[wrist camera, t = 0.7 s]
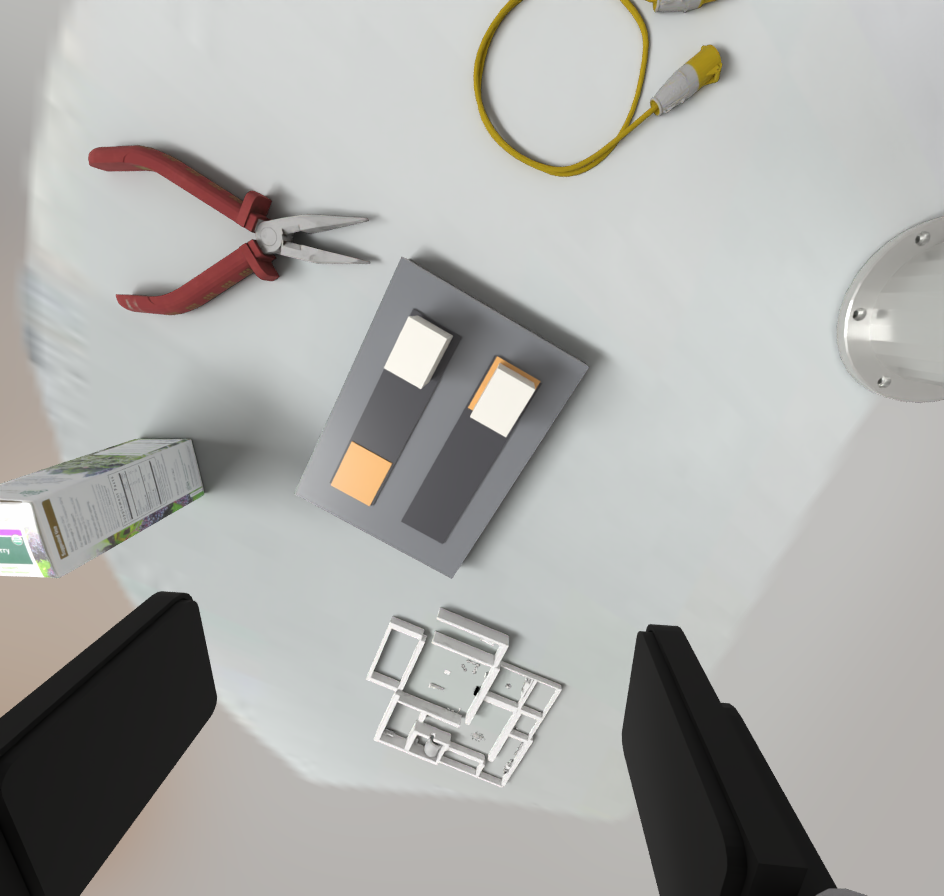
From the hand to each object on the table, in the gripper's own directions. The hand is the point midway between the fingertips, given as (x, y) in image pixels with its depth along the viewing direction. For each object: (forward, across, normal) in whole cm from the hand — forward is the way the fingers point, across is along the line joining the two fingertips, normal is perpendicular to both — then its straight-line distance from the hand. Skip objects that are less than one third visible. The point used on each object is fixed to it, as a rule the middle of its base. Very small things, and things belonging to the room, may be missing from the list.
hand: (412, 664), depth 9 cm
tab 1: (+27, +5, -4) cm, 27 cm away
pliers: (+30, +21, -10) cm, 38 cm away
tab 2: (+26, -1, -1) cm, 27 cm away
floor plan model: (+30, +5, +31) cm, 43 cm away
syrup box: (+30, +30, +8) cm, 43 cm away
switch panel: (+29, +4, +3) cm, 30 cm away
